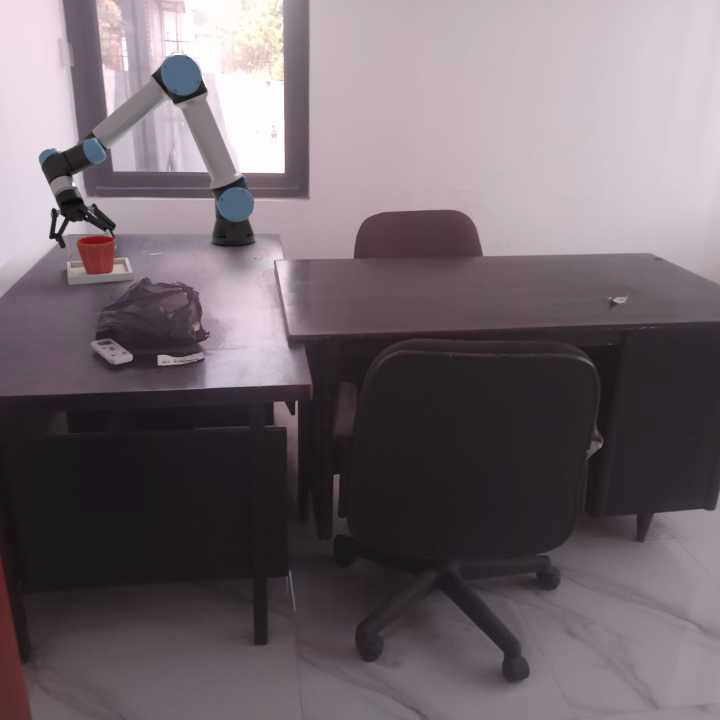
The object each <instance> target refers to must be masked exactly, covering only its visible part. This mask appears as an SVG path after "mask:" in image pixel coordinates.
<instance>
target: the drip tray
mask: <svg viewBox="0 0 720 720" xmlns="http://www.w3.org/2000/svg"><path fill="white" fill-rule="evenodd" d="M129 260H130V259H129V258H128V257H117V258H116V257H114V264H113V271H112V272H110V273H107V274H105V273H104V274H96V275H92V274H88V273H87V272H86V270H85V267H84V265H83V262H82V260H75V261H74V260H72V261H66V270H67V271H66V272H67V274H66V275H67V283H68V286H73V285H83V284H97V283H98V284H99V283H109V282H123V281H133V280H134V273H133V270H132V266H131V263H130V261H129ZM132 279H133V280H132Z"/></svg>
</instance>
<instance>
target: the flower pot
mask: <svg viewBox="0 0 720 720" xmlns="http://www.w3.org/2000/svg"><path fill="white" fill-rule="evenodd" d="M75 243H76V246H77V249H78V253H79V255H80V259H81V261H82V262H83V265H84V267H85V270H86V272H87V273H88V274H92V275H96V274H104V273H105V274H107V273H110V272H112V271H113V264H114V258H115V252H116V250H115V244H116V238H115V239H114V238H112V237H108V236H105V235H92V236H91V235H90V236H85V237H81V238H79V239H77V240H76V241H75Z"/></svg>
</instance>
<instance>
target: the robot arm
mask: <svg viewBox="0 0 720 720" xmlns="http://www.w3.org/2000/svg"><path fill="white" fill-rule="evenodd" d="M149 78H150V79H149V81H148V82H146V83H145V85H143V86H142V87H141V88H140V89H139V90H137V91H136V92H135V93H134V94H133V95H131V96H130V97H129V98H128V99H127V100H126V101H124V102H123V103H122V104H120V106H119V107H118V108H116V109H115V110H114V111H113V112H112V113H111V114H110V115H108V116H107V117H106V118H105V119H103V120H102V122H101V121H100V123H99V124H98V125H97V126H95V127H94V128H93V129H92V130H91V131H90V132H89V133H87V134H86V135H85V136H84V137H82V138H81V139H80V140H78V141H77V144H76V145H74V146H71V147H69V148H68V149H66V150H63V151H61V150H60V149H58V148H55V147H51V148H47V149H44V150H43V151H41V152H40V154H39V155H38V162H39V165H40V167H41V172H42V173H43V175H44V177H45V179H46V182H47V183H48V185H49V188H50V191H51V192H52V195H53V197H54V199H55V203H56V205H57V206H58V209H57V208H56V207H52V208H51V211H50V217H51V221H50V229H49V235H48V238H49V240H55V242H57V243H58V245H59V248H60V249H64V252H65V253H66V256H67V259H68V260H69V259H72V257H73V254H74V253H73V251H72V249H71V246H70V245H69V241H68V239H67V238H66V235H65V234H64V232H65V231H66V229H67V226H68V225H69V223H70V222H72V223H77V222H83V221H84V222H86V223H89V224H90V225H93V226H94V227H96V228H98V229H100V230H102V231H103V232H104V235H103V236H108V237H112V238H114V239H115V240H116V236H115V234H114V232H113V231H115V229H116V227H117V224H116V223H115V222H114V221H113V220H112V219H111V218H110V217H108V216H107V215H106V214H105V213H104V212H102V211H101V209H99V207H98V206H97V204H96V203H93V202H92V204H91V205H88V206H87V205H86V204H85V201H84V199H83V197H82V194H81V192H80V190H79V187H78V186H77V183H76V181H75V179H74V177H73V176H75V175H77V174H79V173H81V172H84V171H85V170H88V169H90V168H92V167H94V166H96V165H99V164H101V163H102V162H104V161H106V160H107V154H106V152H107V151H109V149H111V148H112V147H113V146H114V145H116V143H118V142H119V141H120V140H122V139H123V138H124V137H125V136H126V135H127V134H128V133H130V132H131V131H132V130H134V129H135V128H136V127H137V126H138V125H139V124H140V123H141V122H142V121H144V120H145V119H146V118H147V117H148V116H151V114H152V113H153V112H154V111H156V110H157V109H158V108H160V106H162V105H163V104H164V103H165V102H166V101H172V103H173V105H174V106H175V107H178V108H179V109H180V110H181V112H182V115H183V117H184V120H185V122H186V124H187V126H188V129H189V132H190V134H191V135H192V138H193V140H194V142H195V145H196V148H197V150H198V152H199V154H200V157H201V159H202V161H203V164H204V166H205V169H206V171H207V172H208V175H209V177H210V179H211V181H210V184H209V189H210V191H211V192H210V193H211V194H212V196H213V198H214V215H215V221H214V225H213V229H212V231H211V232H212V233H211V242H212V243H213V244H215V245H220V246H228V247H229V246H231V247H233V246H244V245H245V246H246V245H249V244H252V243H254V242H255V240H256V239H255V232H254V229H253V226H252V223H251V222H250V218H249V217H250V216H251V215H252V213H253V211H254V209H255V208H254V207H255V200H254V197H253V195H252V193H251V192H250V189H249V187H248V185H249V181H248V178H247V176H245V175H243V173H241V172H239V171H237V169H236V168H235V165H234V163H233V160H232V158H231V155H230V153H229V151H228V147H227V146H226V143H225V140H224V137H223V136H222V133H221V131H220V129H219V126H218V123H217V120H216V119H215V117H214V114H213V111H212V109H211V107H210V104H209V101H208V99H207V97H208V94H209V90H208V87H207V84H206V81H205V80H204V76H203V74H202V68H201V66H200V64H199V63H198V61H197V60H196V59H195V58H194V57H193V56H191V55H190V54H187V53H184V52H176V53H175V52H174V53H171V54H170V55H168V56H167V57H165V59H164V60H163V62H162V63H161V65H159V67H158V68H157V69H156V70H155V71H154V72H153V73H152V74H151V75H150V77H149ZM60 216H62V217H63V218H64V219H63V221H62V223H61V225H60V228H59V230H58V231H57V232H56V228H57V220H58V217H60ZM116 249H117V244H116V243H115V251H116Z"/></svg>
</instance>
